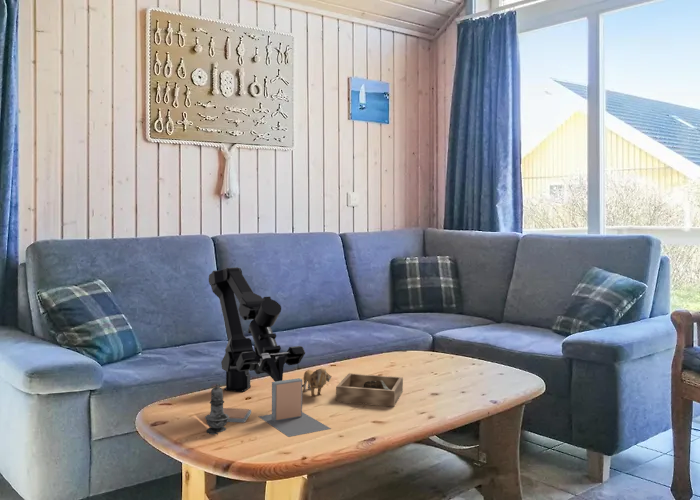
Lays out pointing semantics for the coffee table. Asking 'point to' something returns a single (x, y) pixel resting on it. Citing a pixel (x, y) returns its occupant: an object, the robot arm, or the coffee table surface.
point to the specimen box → (369, 390)
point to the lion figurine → (315, 380)
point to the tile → (286, 399)
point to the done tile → (237, 414)
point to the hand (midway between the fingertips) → (280, 384)
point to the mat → (296, 425)
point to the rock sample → (375, 385)
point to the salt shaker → (216, 412)
